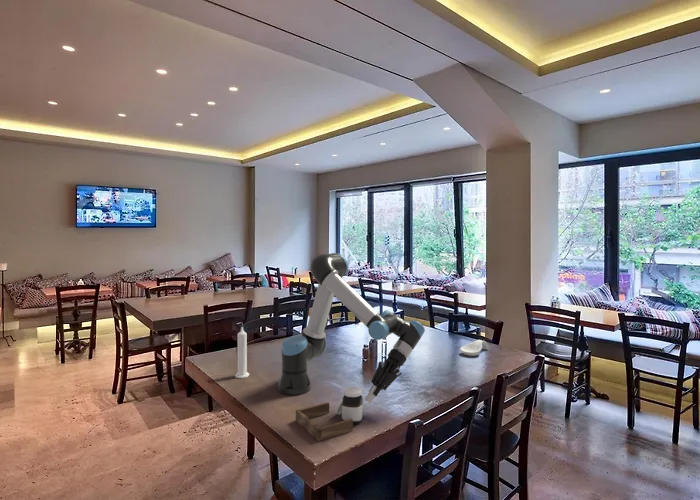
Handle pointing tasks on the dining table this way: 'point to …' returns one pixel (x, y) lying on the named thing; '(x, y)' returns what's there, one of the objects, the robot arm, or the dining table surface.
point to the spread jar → (351, 405)
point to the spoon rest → (474, 348)
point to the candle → (242, 355)
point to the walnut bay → (325, 431)
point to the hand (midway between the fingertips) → (367, 401)
